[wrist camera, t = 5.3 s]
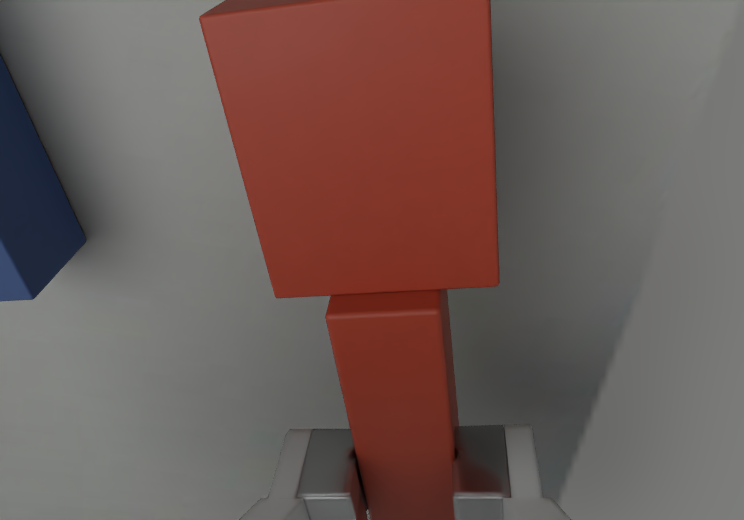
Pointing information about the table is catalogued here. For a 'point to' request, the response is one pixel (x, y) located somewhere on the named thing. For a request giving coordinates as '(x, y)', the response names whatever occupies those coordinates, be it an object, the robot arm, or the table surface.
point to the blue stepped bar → (29, 205)
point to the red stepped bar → (372, 202)
